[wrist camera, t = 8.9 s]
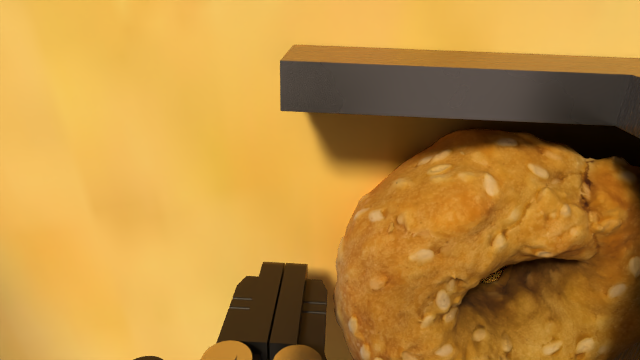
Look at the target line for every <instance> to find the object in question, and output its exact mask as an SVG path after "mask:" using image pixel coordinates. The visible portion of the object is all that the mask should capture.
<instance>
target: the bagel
mask: <svg viewBox="0 0 640 360" xmlns="http://www.w3.org/2000/svg"><path fill="white" fill-rule="evenodd" d="M506 265H508V266H507V267H506V268H505V269H504V271H503V272H502V274H501V276H500V278H499V279H497V280H496V281H493V282H490V283H483V282H480V280H481V279H484V278H487V277H488V276H489V275H490V274H491V273H494V272H496V271H498V269H500V268H502V267H503V266H506ZM336 270H337V283H336V287H335V291H334V295H333V299H334V303H335V309H334V312H335V315H336V320H337V323H338V324H339V326H340V327H341V328H342V331H343V334H344V338H345V340H346V343H347V345H348V350H349V352H350V354H351V355H352V357H353V359H354V360H614V359H615V358H616V357H617V356H618V355H619V354H621V353H622V352H624V351H625V350H627V349H628V348H630V347H631V346H633V345H634V344H635V343H638V342H639V341H640V167H635V166H631V165H629V164H628V163H627V162H626V161H625V160H624V159H623V158H621V157H617V156H612V157H608V158H603V159H600V160H596V159H592V158H589V159H586V158H583V157H582V156H581V155H580V154H578V153H577V152H576V151H575V150H574V149H573V148H572V147H570V146H568V145H565V144H561V143H555V142H548V141H545V140H542V139H539V138H537V137H536V136H534V135H532V134H529V133H526V132H520V133H511V132H506V131H499V130H487V129H470V130H459V131H455V132H452V133H450V134H447V135H446V136H444V137H442V138H441V139H439V140H438V141H437V142H435V143H434V144H433V145H432V146H431V147H430V148H428V149H426V150H424V151H422V152H420V153H419V154H417V155H415V156H413V157H412V158H410V159H409V160H407V161H405V162H404V163H402V164H401V165H400V166H399V167H397V168H396V170H395V171H394V172H392V173H391V174H390V175H389V176H388V177H387V178H385V179H384V180H383V181H382V182H381V183H380V184H379V185H378V186H377V187H376V188H375V189H373V190H372V191H371V192H370V193H368V194H366V195H365V196H363V197H362V198H361V200H360V201H359V203H358V205H357V208H356V210H355V211H354V213H353V215H352V218H351V219H350V221H349V224H348V226H347V230H346V233H345V236H344V237H342V239H341V242H340V245H339V248H338V255H337V259H336Z"/></svg>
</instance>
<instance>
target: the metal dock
mask: <svg viewBox="0 0 640 360" xmlns="http://www.w3.org/2000/svg"><path fill="white" fill-rule="evenodd" d="M280 98H281V111H295V112H317V113H340V114H362V115H384V116H407V117H429V118H452V119H474V120H496V121H519V122H541V123H564V124H586V125H608V126H616V127H618V128H620V129H622V130H624V131H626V132H628V133H630V134H632V135H634V136H636V137H638V138H640V58H616V57H591V56H566V55H540V54H515V53H490V52H464V51H439V50H414V49H388V48H363V47H338V46H313V45H293V46H292V48H291V49H290V50H289V51H288V52H287V53H286V54H285V56H284V57H283V58H282V59H281V60H280ZM614 360H640V341H639V342H638V343H635V344H634V345H633V346H631V347H630V348H628V349H627V350H625V351H624V352H622V353H621V354H619V355H618V356H617V357H616V358H615V359H614Z"/></svg>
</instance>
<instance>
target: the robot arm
mask: <svg viewBox="0 0 640 360" xmlns="http://www.w3.org/2000/svg"><path fill="white" fill-rule="evenodd" d="M326 307H327V289H326V287H325V286H324V284H323V282H322V280H309V279H307V264H294V263H286V265H285V263H275V262H263V264H262V267H261V271H260V274H259V277H255V276H246V277H245V278H244V279H243V280H242V281H241V282H240V283H239V284H238V285H237V287H236V290H235V293H234V295H233V299H232V301H231V304H230V308H229V309H228V312H227V315H226V318H225V321H224V323H223V326H222V329H221V332H220V335H219V337H218V340H217V343H216V344H215V345H213V346H211V347H210V348H209V349H207V350H206V352H205V353H204V354H203V356H202V358H201V360H327V359H326V357H325V353H324V347H325V328H326ZM134 360H163V359H161V358H159V357H155V356H145V357H140V358H137V359H134Z"/></svg>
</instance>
